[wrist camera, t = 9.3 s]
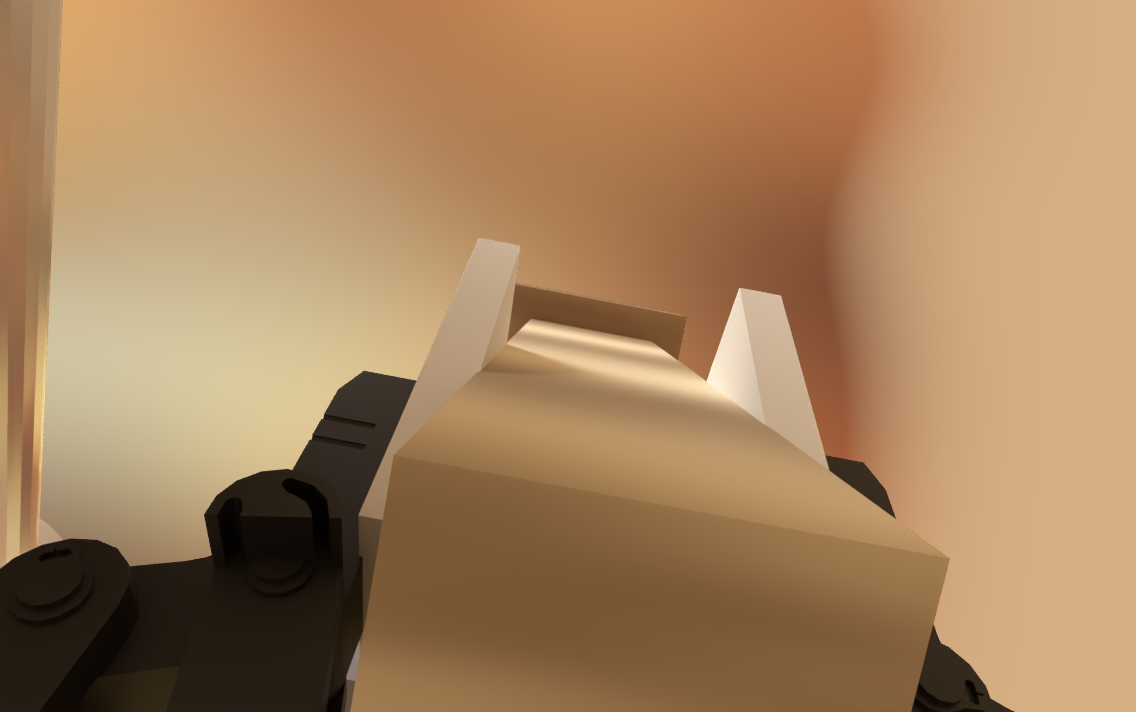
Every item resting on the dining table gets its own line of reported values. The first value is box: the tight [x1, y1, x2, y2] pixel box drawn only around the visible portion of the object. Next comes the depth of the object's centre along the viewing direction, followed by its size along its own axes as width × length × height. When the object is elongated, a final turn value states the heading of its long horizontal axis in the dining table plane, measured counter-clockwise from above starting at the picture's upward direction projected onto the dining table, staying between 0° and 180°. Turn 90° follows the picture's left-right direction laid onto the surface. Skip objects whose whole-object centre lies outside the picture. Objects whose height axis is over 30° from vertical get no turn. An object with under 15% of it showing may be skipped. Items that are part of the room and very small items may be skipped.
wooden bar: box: [350, 282, 950, 712], centre depth 17 cm, size 23×6×5 cm, turn 0°
